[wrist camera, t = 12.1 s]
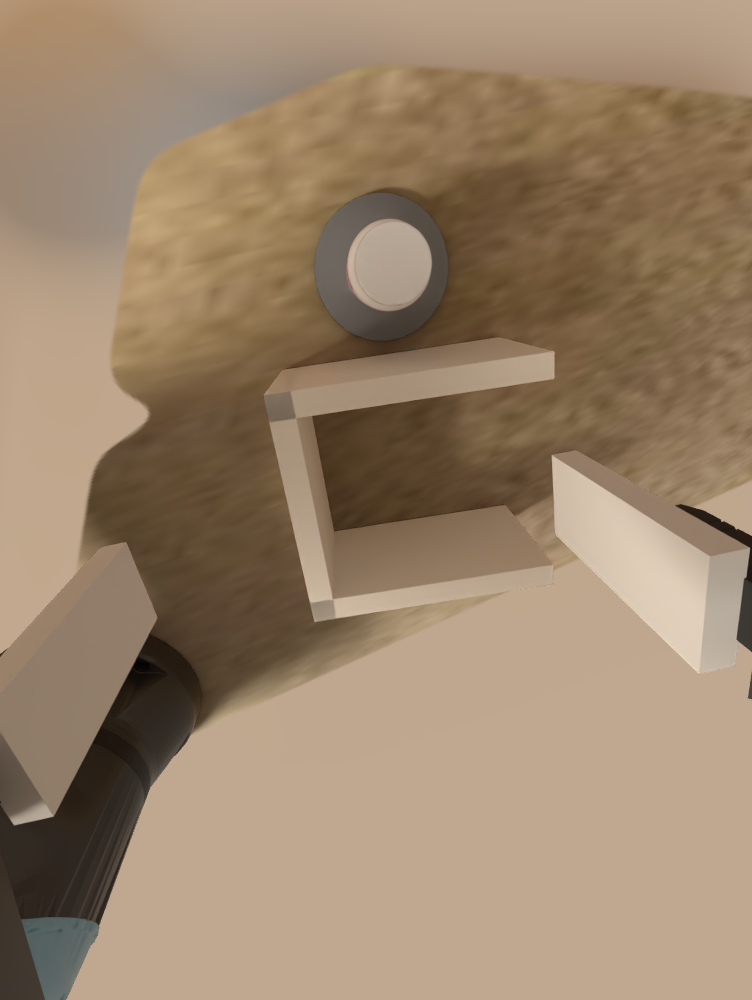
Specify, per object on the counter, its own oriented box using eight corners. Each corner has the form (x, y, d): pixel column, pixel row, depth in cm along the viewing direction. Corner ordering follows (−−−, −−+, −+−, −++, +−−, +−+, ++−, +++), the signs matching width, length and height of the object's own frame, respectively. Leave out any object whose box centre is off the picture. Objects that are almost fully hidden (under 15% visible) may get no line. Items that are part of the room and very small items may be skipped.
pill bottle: (331, 260, 33) (328, 249, 25) (390, 214, 32) (407, 188, 24) (371, 323, 34) (381, 331, 27) (429, 281, 34) (457, 277, 26)
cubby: (319, 549, 42) (314, 622, 32) (282, 369, 36) (263, 395, 27) (506, 520, 42) (553, 584, 33) (499, 337, 36) (554, 351, 27)
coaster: (327, 348, 36) (327, 349, 35) (303, 205, 32) (302, 203, 31) (450, 329, 36) (453, 330, 35) (440, 185, 32) (442, 182, 31)
